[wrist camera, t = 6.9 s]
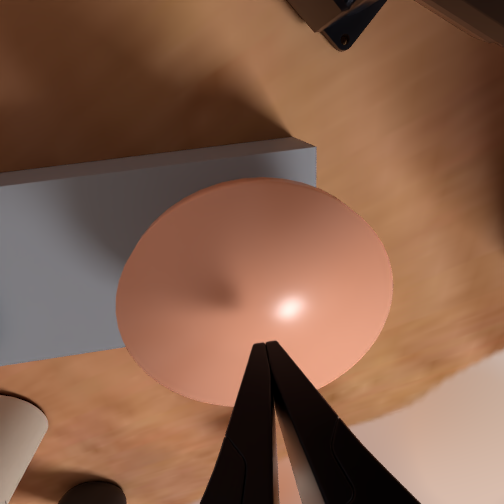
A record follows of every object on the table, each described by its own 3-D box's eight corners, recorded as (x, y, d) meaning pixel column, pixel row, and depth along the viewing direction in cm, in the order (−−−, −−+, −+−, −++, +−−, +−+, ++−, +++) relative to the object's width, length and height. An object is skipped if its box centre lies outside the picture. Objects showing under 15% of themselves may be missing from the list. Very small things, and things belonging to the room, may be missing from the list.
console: (292, 136, 18) (316, 146, 14) (297, 277, 23) (315, 317, 19) (-163, 193, 17) (-297, 223, 12) (-51, 328, 22) (-118, 384, 18)
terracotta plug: (228, 104, 13) (235, 103, 8) (372, 231, 17) (444, 292, 12) (116, 267, 16) (64, 350, 11) (258, 342, 20) (273, 430, 15)
